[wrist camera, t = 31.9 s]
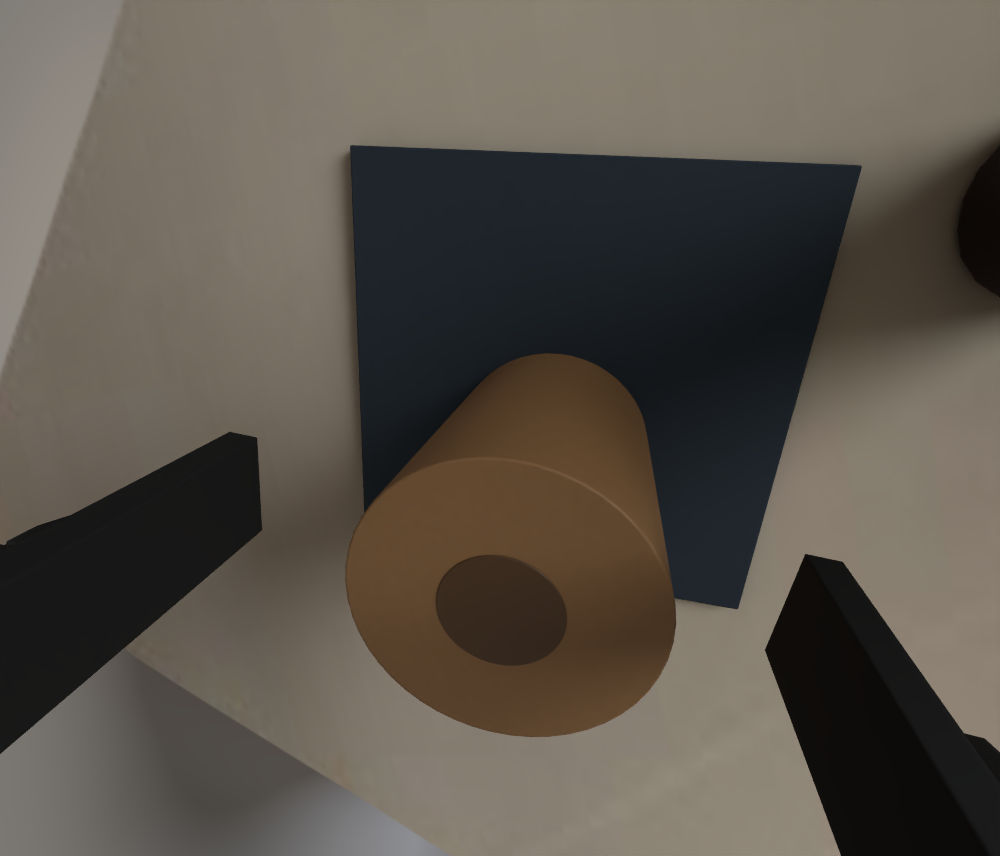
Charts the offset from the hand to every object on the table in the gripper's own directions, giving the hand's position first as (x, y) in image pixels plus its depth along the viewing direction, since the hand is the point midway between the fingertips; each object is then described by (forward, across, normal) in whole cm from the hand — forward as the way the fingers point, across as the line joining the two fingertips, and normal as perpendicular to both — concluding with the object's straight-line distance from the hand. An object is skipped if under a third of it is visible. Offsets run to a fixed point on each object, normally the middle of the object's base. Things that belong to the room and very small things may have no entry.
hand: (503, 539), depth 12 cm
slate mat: (+13, 0, 0) cm, 13 cm away
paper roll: (+7, 0, +3) cm, 7 cm away
